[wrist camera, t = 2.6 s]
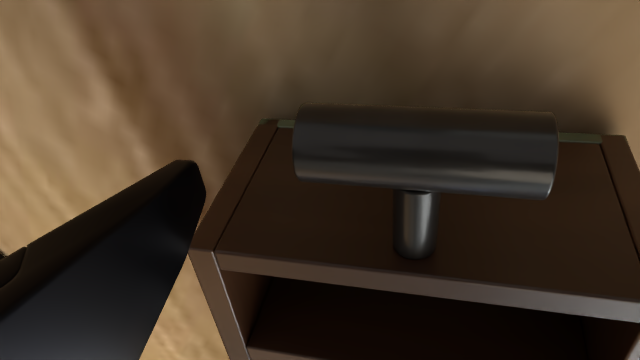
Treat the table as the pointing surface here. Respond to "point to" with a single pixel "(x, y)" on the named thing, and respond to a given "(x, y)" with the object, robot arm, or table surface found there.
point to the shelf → (424, 239)
